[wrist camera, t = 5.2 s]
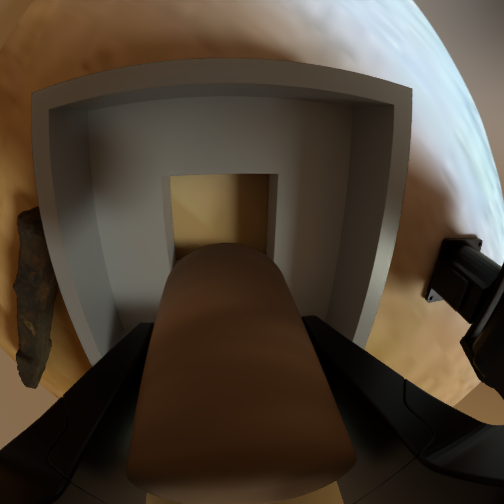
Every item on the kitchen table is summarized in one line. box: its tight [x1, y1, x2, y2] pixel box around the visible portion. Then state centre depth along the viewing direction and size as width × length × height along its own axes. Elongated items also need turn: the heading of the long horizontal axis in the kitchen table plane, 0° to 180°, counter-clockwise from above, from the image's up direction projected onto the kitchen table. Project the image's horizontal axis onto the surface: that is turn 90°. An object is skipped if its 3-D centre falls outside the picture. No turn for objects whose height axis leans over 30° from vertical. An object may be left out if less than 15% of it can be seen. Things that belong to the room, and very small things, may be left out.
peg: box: [126, 243, 357, 504], centre depth 6 cm, size 4×4×6 cm
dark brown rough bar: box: [13, 207, 58, 389], centre depth 16 cm, size 19×4×5 cm, turn 147°
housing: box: [31, 58, 412, 367], centre depth 14 cm, size 16×16×6 cm
